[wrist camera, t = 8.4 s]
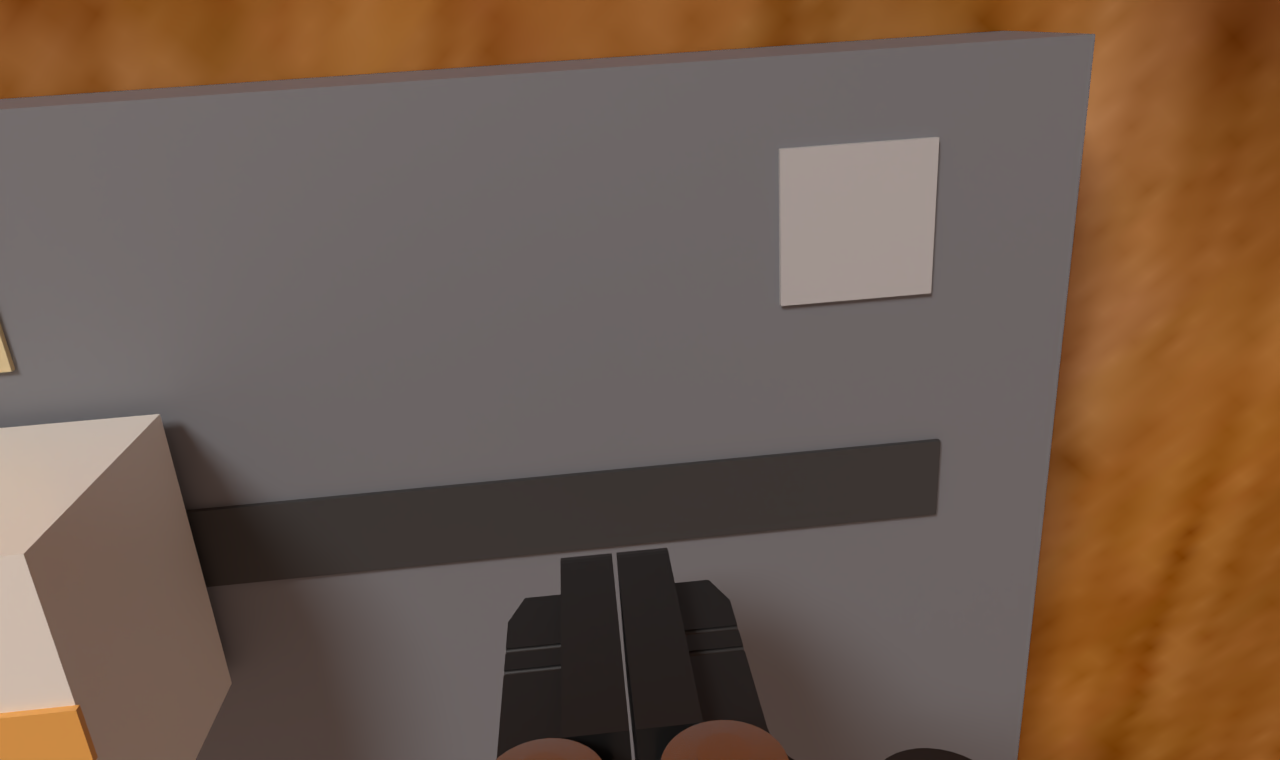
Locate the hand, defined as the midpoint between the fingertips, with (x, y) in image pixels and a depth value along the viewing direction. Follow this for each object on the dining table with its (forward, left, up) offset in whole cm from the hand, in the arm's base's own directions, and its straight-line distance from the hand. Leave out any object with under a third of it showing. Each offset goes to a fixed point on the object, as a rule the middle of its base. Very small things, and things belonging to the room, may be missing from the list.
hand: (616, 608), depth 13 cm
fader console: (+3, 0, -6) cm, 6 cm away
